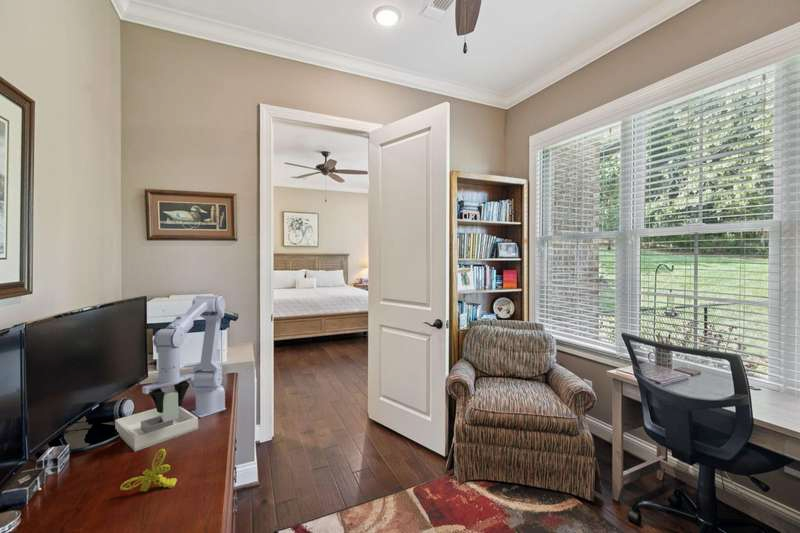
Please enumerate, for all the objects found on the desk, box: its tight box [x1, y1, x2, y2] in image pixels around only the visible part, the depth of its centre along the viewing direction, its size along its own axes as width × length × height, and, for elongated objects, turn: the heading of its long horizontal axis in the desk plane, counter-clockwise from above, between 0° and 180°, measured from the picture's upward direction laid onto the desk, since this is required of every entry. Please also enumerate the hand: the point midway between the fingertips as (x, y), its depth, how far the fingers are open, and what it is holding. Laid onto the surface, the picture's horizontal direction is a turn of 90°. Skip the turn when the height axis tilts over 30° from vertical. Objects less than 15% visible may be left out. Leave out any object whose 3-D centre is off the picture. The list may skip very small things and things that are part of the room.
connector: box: [161, 389, 178, 422], centre depth 113 cm, size 4×4×8 cm
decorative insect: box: [119, 448, 178, 493], centre depth 90 cm, size 12×3×10 cm
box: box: [114, 406, 199, 452], centre depth 120 cm, size 18×20×4 cm
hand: (169, 408), depth 113 cm, fingers closed on connector, 5 cm apart
